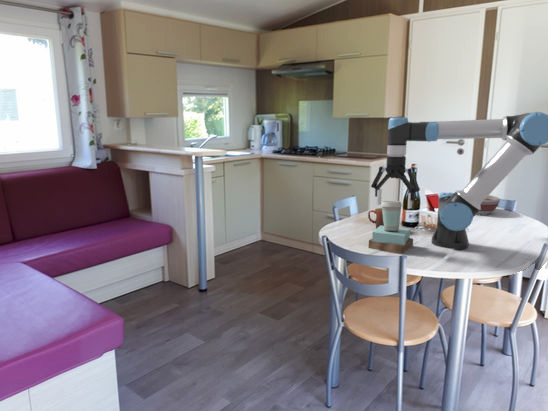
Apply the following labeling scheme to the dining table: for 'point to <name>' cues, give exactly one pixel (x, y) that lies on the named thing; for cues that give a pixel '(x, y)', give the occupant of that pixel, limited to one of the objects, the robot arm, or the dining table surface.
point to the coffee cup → (391, 215)
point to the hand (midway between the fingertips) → (393, 206)
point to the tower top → (391, 236)
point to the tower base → (391, 246)
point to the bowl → (489, 205)
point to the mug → (377, 217)
